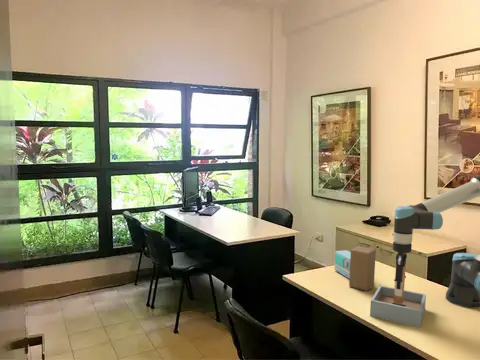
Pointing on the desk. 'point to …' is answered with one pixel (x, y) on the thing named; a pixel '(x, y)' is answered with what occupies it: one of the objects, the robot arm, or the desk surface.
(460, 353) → the desk surface
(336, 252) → the radio
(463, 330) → the desk surface
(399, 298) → the peg
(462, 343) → the desk surface
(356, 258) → the wooden block
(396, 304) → the bore box
